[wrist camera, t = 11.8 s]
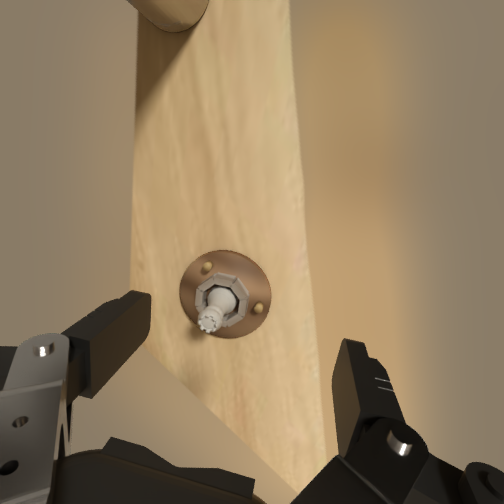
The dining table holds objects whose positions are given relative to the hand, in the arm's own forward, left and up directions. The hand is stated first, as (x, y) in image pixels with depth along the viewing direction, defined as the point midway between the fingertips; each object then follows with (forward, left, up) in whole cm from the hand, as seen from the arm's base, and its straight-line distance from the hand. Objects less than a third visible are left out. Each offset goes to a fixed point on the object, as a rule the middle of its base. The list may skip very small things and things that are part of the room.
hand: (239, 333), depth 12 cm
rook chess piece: (+14, -7, -29) cm, 33 cm away
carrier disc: (+14, -7, -30) cm, 34 cm away
